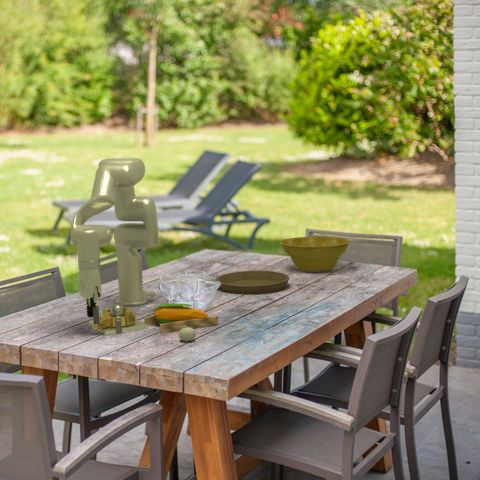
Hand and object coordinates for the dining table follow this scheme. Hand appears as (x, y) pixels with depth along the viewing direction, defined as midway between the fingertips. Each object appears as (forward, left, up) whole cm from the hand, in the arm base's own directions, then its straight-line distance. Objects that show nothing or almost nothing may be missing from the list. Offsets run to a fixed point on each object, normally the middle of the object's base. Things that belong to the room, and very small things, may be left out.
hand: (92, 316), depth 334 cm
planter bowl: (-127, -51, -6) cm, 137 cm away
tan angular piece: (-7, 0, -4) cm, 8 cm away
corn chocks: (-30, +9, -6) cm, 32 cm away
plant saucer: (-84, -34, -6) cm, 91 cm away
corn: (-30, +9, -5) cm, 32 cm away
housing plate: (-10, -1, -6) cm, 11 cm away
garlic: (-22, +30, -6) cm, 37 cm away
